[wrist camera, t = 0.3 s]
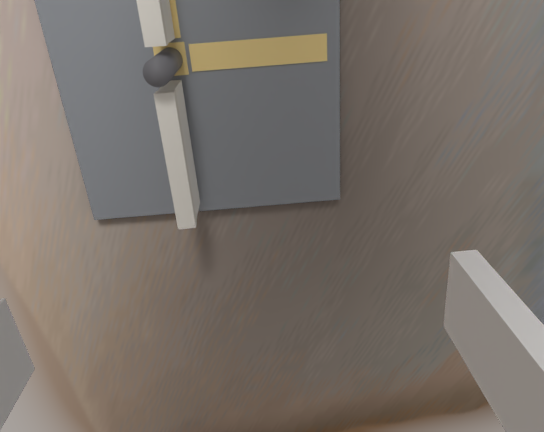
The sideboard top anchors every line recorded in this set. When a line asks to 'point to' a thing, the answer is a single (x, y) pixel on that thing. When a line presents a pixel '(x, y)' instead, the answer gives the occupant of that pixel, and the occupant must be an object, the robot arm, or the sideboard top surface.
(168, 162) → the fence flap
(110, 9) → the card
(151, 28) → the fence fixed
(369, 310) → the sideboard top surface
